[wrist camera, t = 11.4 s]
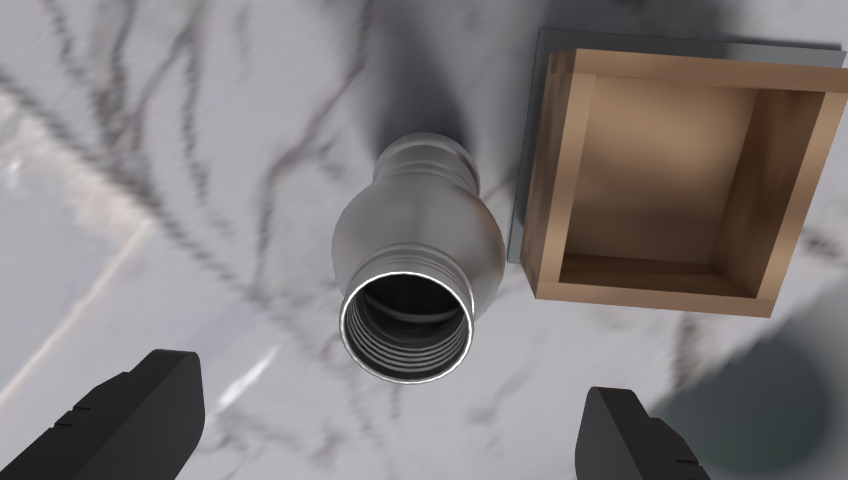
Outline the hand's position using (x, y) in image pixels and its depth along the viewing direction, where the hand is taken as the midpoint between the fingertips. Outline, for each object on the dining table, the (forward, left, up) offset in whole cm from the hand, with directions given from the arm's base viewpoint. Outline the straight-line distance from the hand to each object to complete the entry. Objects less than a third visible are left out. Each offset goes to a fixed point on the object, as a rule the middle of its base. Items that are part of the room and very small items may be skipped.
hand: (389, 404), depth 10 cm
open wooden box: (-2, +12, -23) cm, 26 cm away
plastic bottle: (0, 0, -23) cm, 23 cm away
